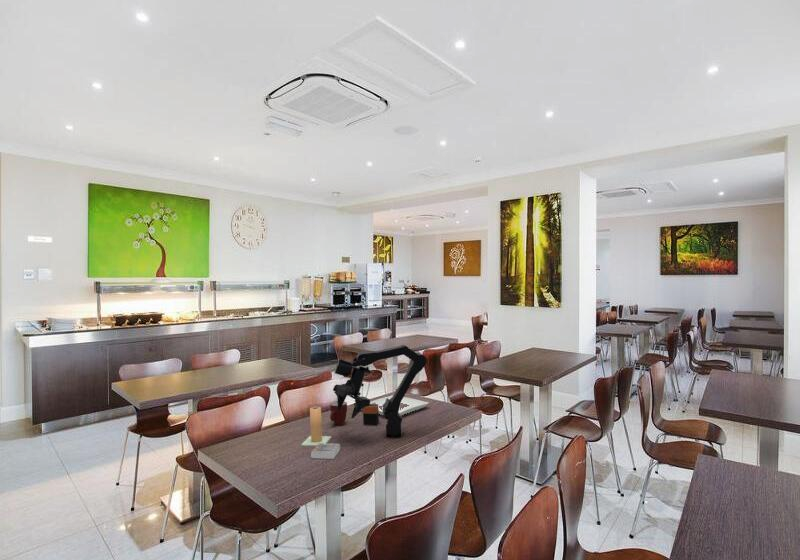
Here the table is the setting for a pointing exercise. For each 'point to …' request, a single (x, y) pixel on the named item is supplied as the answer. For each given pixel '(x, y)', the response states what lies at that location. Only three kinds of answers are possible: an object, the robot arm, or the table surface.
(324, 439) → the mat
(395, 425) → the robot arm
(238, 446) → the table surface
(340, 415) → the mug
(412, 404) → the square plate
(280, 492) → the table surface
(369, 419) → the battery
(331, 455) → the frame
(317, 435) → the plug
